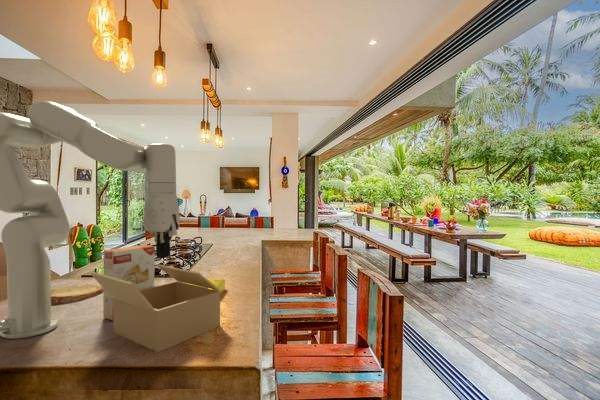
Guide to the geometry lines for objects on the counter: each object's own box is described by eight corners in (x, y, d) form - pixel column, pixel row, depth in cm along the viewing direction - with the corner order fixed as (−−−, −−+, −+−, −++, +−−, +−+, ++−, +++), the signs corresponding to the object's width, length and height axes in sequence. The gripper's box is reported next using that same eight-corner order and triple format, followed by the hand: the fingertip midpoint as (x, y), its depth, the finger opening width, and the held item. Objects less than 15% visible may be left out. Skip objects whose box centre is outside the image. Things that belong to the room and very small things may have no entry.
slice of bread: (107, 290, 137) (107, 280, 137) (86, 304, 119) (85, 294, 119) (58, 291, 134) (58, 282, 134) (28, 307, 116) (28, 295, 116)
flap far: (177, 280, 111) (178, 279, 111) (218, 290, 100) (219, 289, 100) (155, 265, 104) (156, 263, 104) (197, 274, 94) (198, 272, 94)
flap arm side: (155, 310, 83) (154, 312, 83) (114, 296, 94) (112, 298, 94) (132, 282, 78) (131, 284, 78) (91, 271, 89) (89, 272, 89)
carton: (157, 352, 83) (157, 311, 83) (113, 332, 95) (113, 296, 94) (220, 325, 100) (220, 291, 100) (176, 311, 111) (176, 280, 111)
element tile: (174, 301, 124) (174, 287, 124) (188, 289, 139) (188, 277, 139) (216, 301, 124) (216, 287, 124) (225, 289, 139) (225, 277, 139)
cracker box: (113, 322, 102) (113, 251, 102) (102, 318, 106) (102, 249, 105) (155, 308, 114) (155, 245, 114) (144, 305, 117) (144, 243, 117)
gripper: (133, 190, 96) (135, 256, 96) (166, 189, 87) (168, 261, 88) (157, 190, 102) (159, 252, 102) (190, 189, 94) (192, 257, 94)
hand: (163, 256), depth 95 cm, fingers closed
